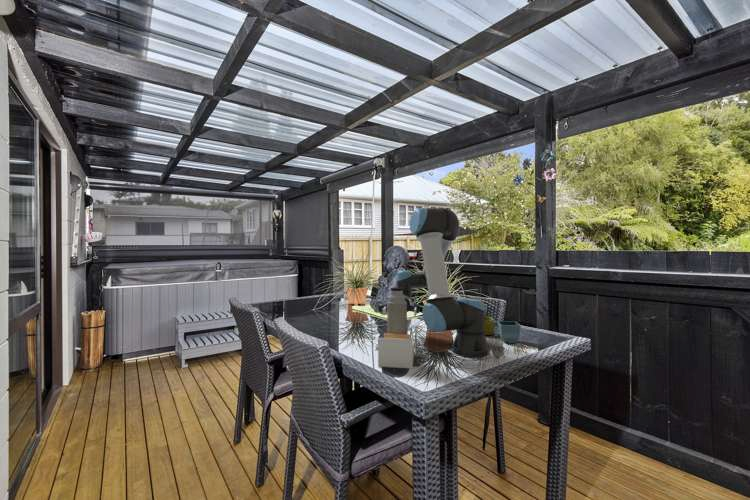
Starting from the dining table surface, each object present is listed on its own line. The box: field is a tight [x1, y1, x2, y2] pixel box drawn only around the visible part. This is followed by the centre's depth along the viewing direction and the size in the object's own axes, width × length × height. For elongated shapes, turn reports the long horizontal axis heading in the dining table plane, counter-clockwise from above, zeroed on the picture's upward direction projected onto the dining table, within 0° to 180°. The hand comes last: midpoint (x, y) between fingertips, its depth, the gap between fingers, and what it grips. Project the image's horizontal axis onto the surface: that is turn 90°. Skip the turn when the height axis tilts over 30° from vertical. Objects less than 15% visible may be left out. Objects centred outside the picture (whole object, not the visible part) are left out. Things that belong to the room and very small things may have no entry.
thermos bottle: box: [386, 287, 408, 334], centre depth 144 cm, size 8×8×28 cm
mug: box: [485, 316, 495, 336], centre depth 182 cm, size 12×10×10 cm
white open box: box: [377, 337, 415, 369], centre depth 142 cm, size 17×13×11 cm
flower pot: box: [497, 320, 521, 344], centre depth 167 cm, size 9×9×9 cm
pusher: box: [383, 333, 410, 339], centre depth 138 cm, size 4×10×10 cm, turn 81°
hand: (399, 312), depth 152 cm, fingers open, 13 cm apart
